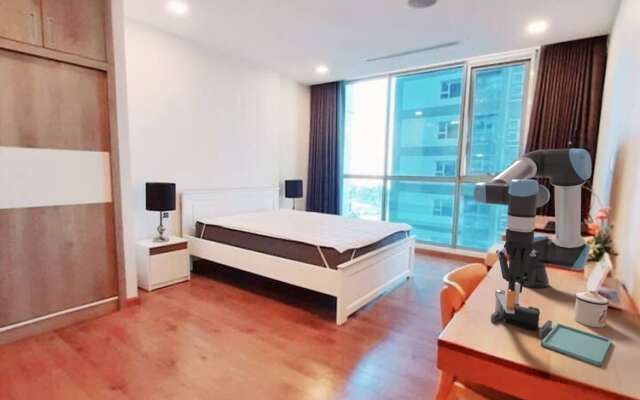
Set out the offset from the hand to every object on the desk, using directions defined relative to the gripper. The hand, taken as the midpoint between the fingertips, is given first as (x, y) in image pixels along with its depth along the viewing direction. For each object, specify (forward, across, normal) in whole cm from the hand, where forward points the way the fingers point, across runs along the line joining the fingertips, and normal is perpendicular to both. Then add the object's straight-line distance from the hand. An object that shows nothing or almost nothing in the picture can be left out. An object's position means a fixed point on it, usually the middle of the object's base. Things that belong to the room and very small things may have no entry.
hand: (513, 302), depth 105 cm
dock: (+11, -7, -7) cm, 15 cm away
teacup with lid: (+12, -34, -12) cm, 38 cm away
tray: (+11, -17, +5) cm, 21 cm away
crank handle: (+3, 0, -6) cm, 6 cm away
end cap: (+12, -7, -7) cm, 16 cm away
